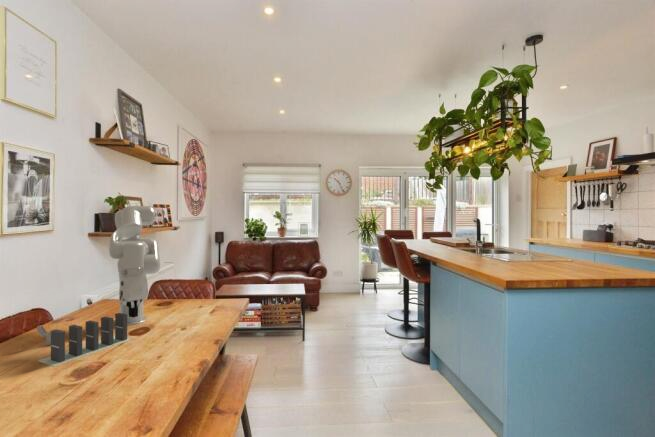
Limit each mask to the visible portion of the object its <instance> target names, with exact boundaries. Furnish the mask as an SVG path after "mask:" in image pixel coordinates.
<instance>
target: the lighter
mask: <svg viewBox="0 0 655 437" xmlns="http://www.w3.org/2000/svg"><path fill="white" fill-rule="evenodd" d="M36 330H37V332H38V333H39V335H40V336H41V337H42V338H44V337H45V345H46V346H51V331H50V332H49V333H48V332H47V330H46V329H45V328H44V326H43V325H42V324H41V325H38V326H37V327H36Z"/></svg>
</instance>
